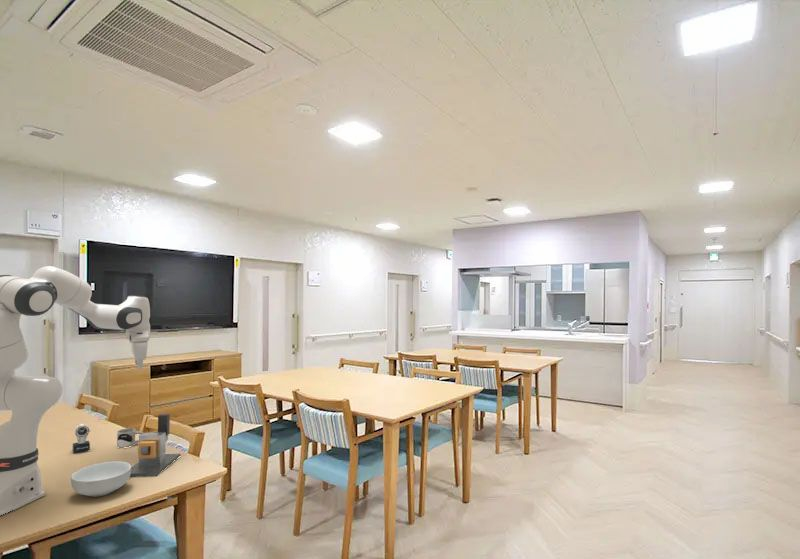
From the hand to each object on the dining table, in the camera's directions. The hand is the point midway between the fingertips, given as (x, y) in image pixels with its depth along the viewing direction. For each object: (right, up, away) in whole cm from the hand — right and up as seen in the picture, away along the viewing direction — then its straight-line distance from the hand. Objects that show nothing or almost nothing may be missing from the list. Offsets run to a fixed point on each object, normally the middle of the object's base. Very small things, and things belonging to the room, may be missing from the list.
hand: (138, 366), depth 191 cm
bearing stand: (+15, -35, -18) cm, 42 cm away
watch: (-24, -36, 0) cm, 43 cm away
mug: (-8, -36, +7) cm, 37 cm away
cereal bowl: (+10, -34, -39) cm, 53 cm away
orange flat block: (+16, -30, -21) cm, 40 cm away
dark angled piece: (+15, -28, -16) cm, 36 cm away
